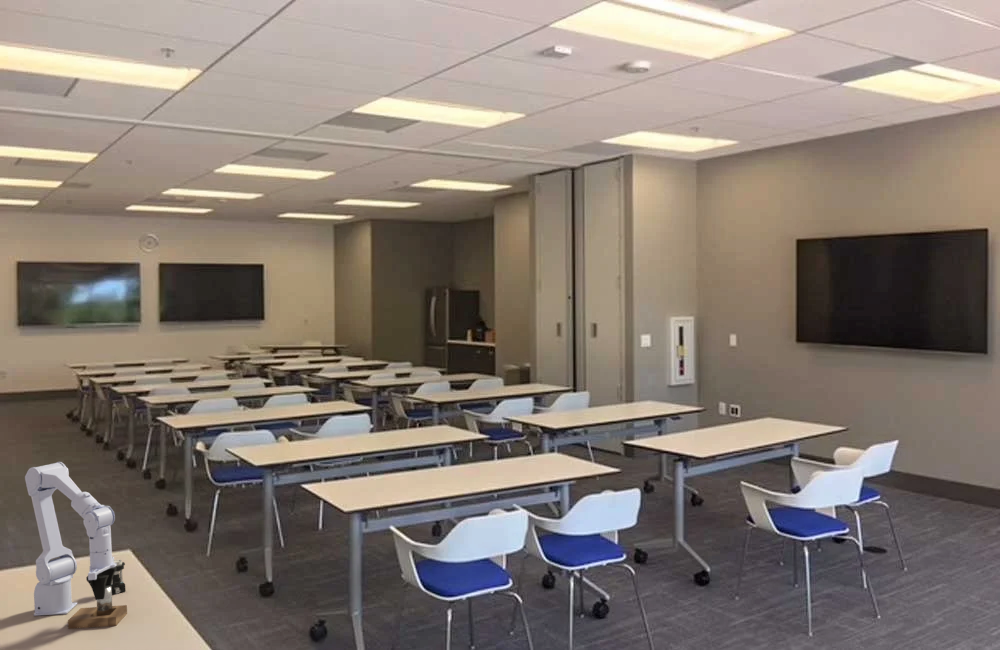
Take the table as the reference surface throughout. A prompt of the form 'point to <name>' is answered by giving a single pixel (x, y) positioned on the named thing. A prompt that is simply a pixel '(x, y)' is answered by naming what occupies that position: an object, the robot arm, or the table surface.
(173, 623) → the table surface
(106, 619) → the jig
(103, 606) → the brushed metal cylinder
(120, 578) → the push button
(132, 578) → the table surface
